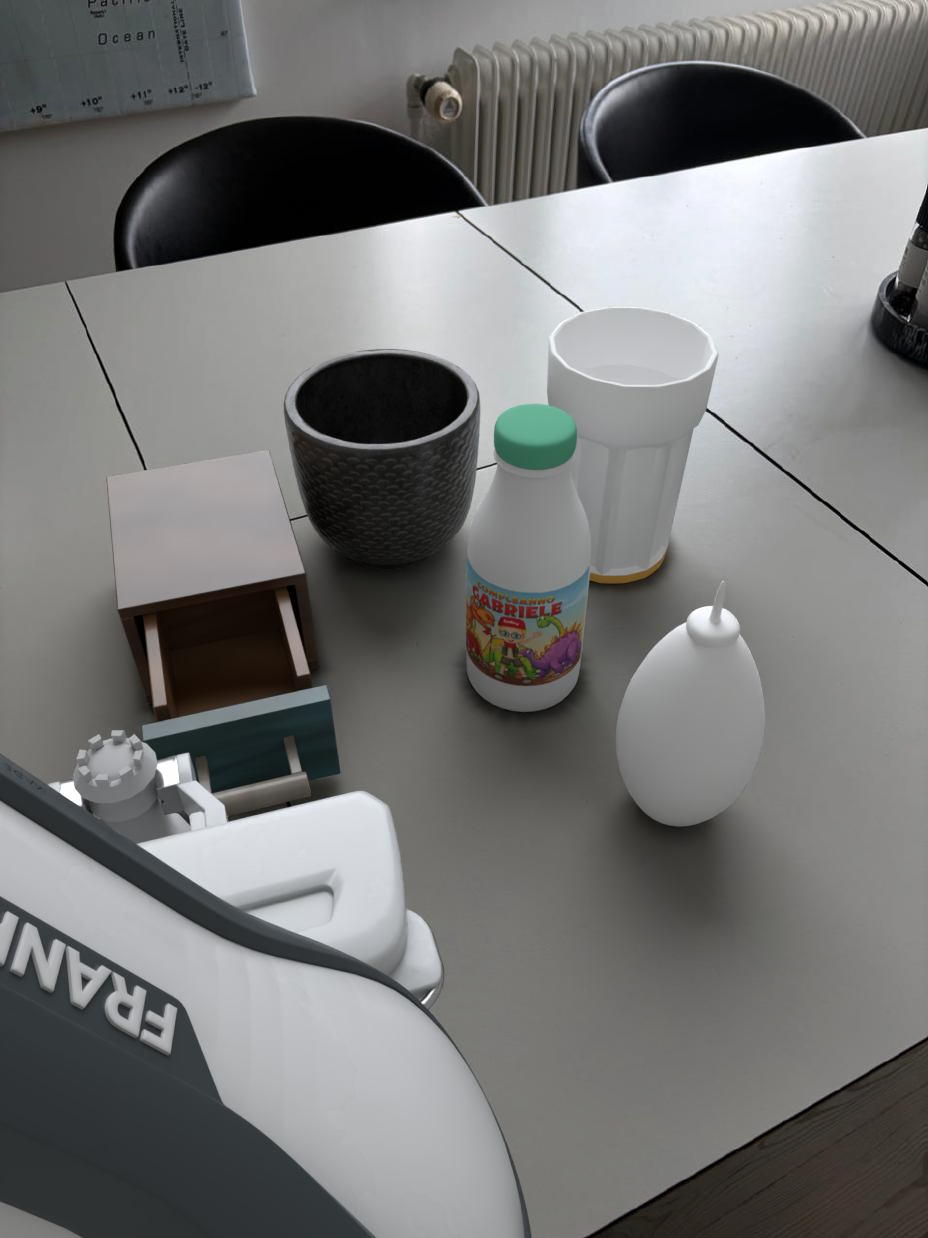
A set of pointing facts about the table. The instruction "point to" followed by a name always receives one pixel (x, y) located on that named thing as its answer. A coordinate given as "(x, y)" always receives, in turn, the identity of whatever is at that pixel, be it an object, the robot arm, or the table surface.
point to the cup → (630, 425)
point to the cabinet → (202, 543)
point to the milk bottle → (528, 565)
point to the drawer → (239, 699)
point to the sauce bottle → (692, 720)
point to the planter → (384, 453)
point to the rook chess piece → (125, 788)
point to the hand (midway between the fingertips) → (122, 776)
